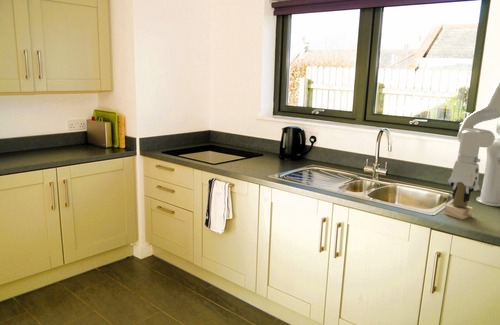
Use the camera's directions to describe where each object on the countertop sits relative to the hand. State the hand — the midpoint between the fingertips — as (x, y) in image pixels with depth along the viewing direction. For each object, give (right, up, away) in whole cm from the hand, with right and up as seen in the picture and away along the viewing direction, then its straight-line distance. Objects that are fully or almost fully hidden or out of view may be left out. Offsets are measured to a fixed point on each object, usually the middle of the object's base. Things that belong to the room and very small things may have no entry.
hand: (460, 199), depth 185 cm
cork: (0, -2, +1) cm, 2 cm away
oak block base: (0, -7, +2) cm, 7 cm away
